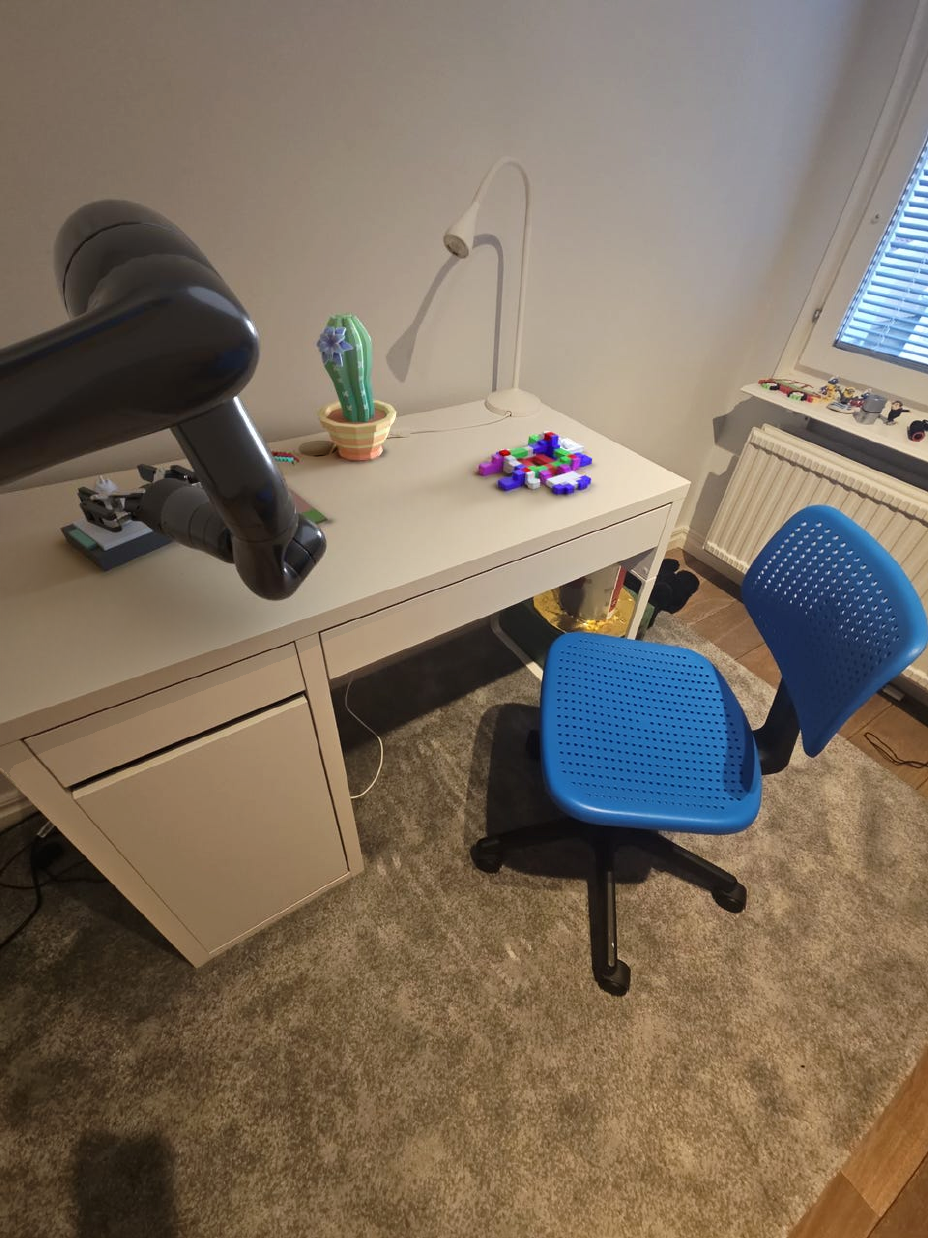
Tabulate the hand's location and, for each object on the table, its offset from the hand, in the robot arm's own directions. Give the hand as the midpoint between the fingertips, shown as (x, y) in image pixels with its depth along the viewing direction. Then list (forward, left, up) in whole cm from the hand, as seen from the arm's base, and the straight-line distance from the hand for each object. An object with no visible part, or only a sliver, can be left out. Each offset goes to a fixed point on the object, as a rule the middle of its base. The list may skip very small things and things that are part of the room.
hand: (112, 482), depth 75 cm
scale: (0, +4, -11) cm, 12 cm away
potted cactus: (+47, +2, -11) cm, 48 cm away
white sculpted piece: (0, +4, -8) cm, 9 cm away
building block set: (+66, -32, -11) cm, 74 cm away
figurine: (+19, -4, -11) cm, 22 cm away
